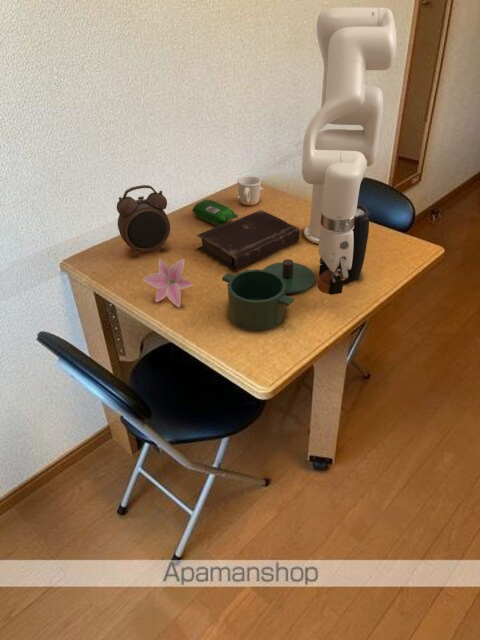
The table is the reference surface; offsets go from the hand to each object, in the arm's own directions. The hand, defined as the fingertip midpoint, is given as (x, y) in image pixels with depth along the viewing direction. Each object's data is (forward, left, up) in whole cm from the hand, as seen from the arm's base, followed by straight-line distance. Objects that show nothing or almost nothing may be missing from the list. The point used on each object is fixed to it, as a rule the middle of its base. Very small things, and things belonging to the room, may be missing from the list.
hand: (329, 285), depth 122 cm
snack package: (+9, -55, -6) cm, 56 cm away
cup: (-6, -61, -6) cm, 61 cm away
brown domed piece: (0, 0, -1) cm, 1 cm away
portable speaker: (-11, -9, -6) cm, 15 cm away
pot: (+18, -4, -5) cm, 19 cm away
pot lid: (+4, -13, -5) cm, 15 cm away
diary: (+6, -34, -6) cm, 36 cm away
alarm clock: (+34, -45, -6) cm, 56 cm away
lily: (+35, -20, -6) cm, 41 cm away
